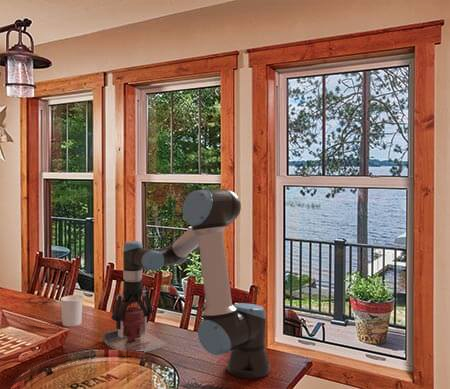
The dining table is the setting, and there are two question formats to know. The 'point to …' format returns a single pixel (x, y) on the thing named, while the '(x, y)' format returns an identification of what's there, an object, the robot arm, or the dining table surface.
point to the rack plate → (132, 341)
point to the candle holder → (71, 310)
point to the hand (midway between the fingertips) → (132, 333)
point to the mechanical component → (133, 322)
